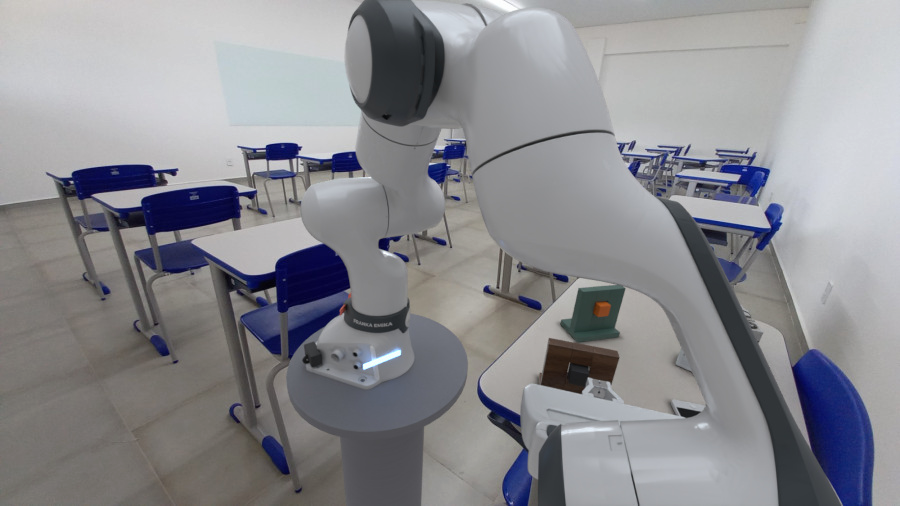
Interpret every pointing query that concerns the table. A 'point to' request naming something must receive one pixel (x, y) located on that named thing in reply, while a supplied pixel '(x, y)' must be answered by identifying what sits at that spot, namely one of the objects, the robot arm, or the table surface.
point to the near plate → (567, 352)
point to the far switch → (601, 309)
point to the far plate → (586, 322)
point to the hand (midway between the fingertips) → (597, 383)
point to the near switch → (578, 374)
